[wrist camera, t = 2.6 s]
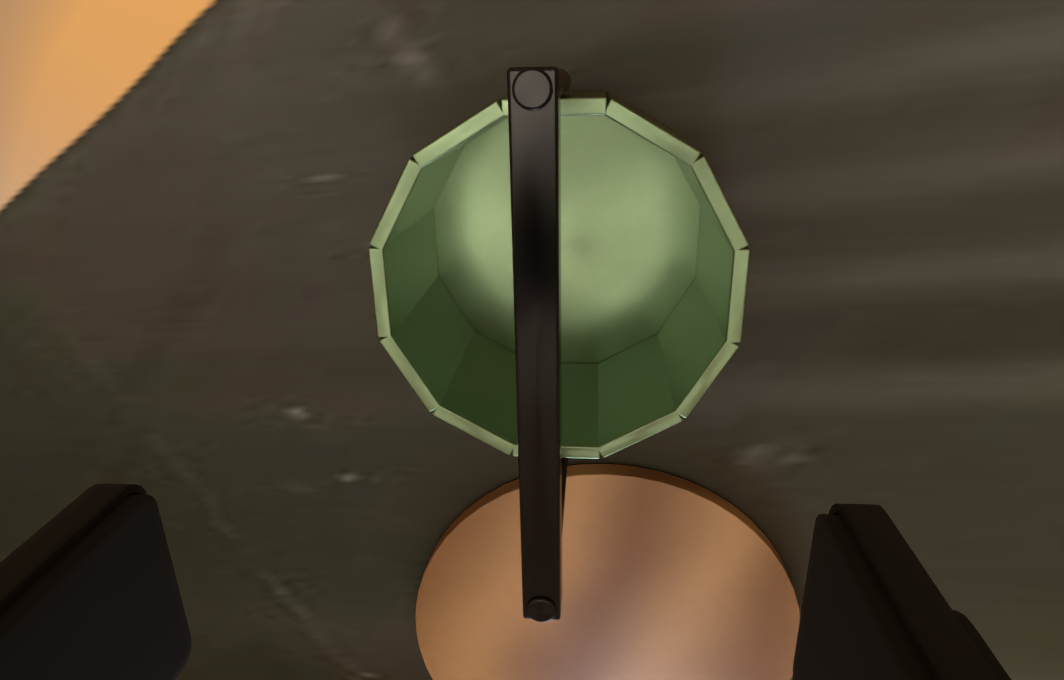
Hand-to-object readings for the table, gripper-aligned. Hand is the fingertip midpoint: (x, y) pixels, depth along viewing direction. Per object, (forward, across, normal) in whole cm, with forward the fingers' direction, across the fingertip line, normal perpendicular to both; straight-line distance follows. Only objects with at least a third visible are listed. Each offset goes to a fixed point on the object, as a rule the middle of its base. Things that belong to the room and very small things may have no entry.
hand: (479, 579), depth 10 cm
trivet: (+21, -3, +21) cm, 30 cm away
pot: (+21, -1, 0) cm, 21 cm away
